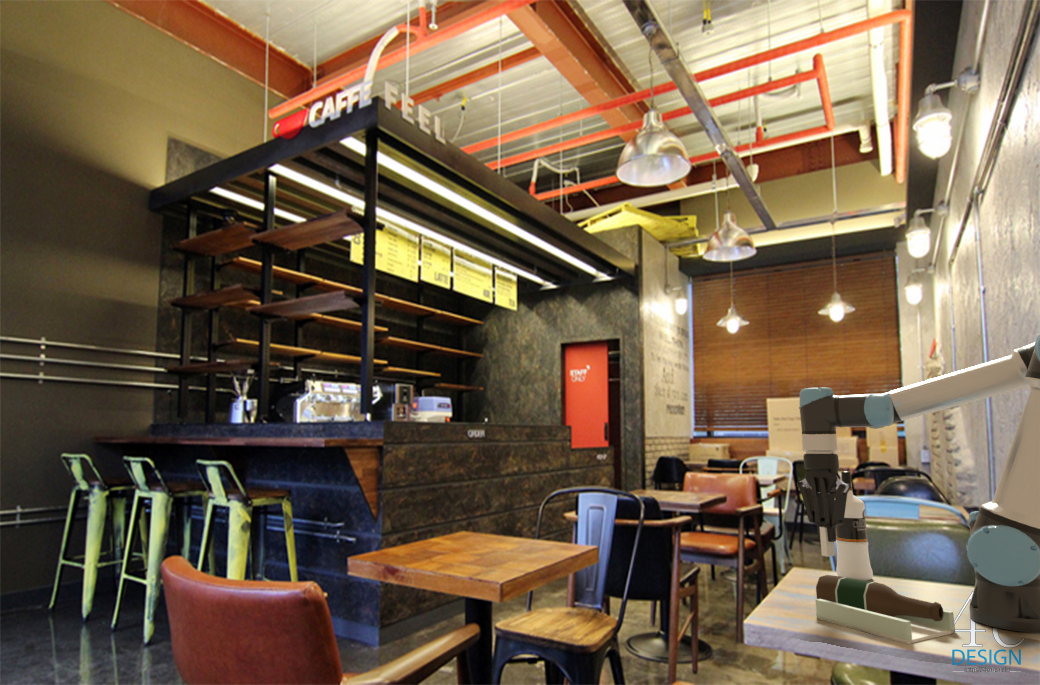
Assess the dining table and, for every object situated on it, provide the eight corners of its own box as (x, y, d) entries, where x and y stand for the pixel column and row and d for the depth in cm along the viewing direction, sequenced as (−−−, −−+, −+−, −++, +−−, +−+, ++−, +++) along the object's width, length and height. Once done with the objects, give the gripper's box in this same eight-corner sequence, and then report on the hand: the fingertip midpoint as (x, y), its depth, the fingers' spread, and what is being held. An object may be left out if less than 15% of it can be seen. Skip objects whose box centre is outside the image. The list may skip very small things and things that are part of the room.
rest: (955, 632, 127) (953, 611, 128) (907, 644, 120) (905, 622, 121) (863, 609, 145) (861, 591, 146) (816, 618, 138) (815, 599, 138)
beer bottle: (820, 615, 143) (940, 641, 125) (811, 584, 143) (930, 605, 124) (834, 597, 148) (951, 619, 130) (826, 567, 147) (942, 584, 129)
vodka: (843, 573, 185) (835, 470, 190) (877, 578, 179) (868, 471, 183) (831, 578, 179) (823, 471, 184) (866, 583, 172) (857, 472, 177)
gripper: (855, 452, 145) (865, 558, 141) (807, 452, 156) (814, 550, 152) (834, 453, 141) (843, 561, 138) (786, 452, 153) (793, 552, 149)
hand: (828, 555), depth 145 cm, fingers closed
